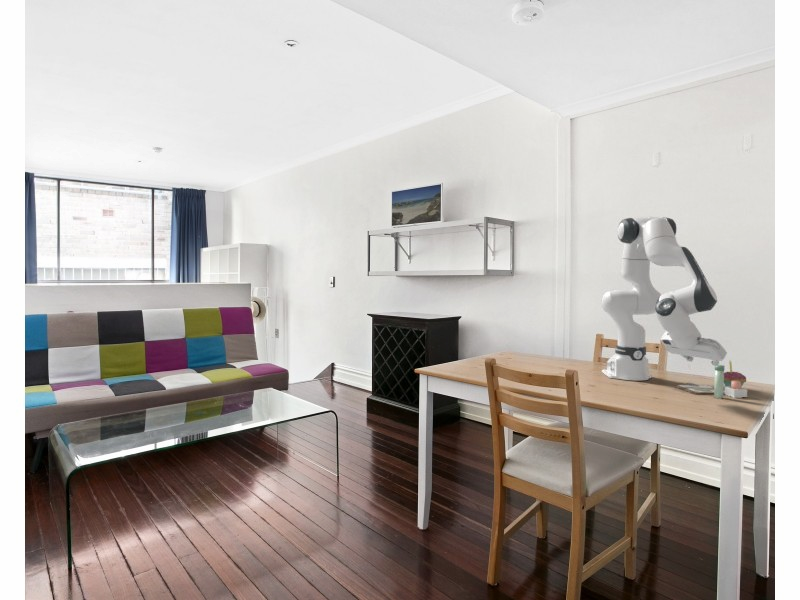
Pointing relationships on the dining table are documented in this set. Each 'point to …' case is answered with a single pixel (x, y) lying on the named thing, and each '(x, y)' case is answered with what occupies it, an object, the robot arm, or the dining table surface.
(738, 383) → the button
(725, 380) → the cupcake
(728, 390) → the button housing
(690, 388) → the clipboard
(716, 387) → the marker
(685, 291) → the robot arm
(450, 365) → the dining table surface
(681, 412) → the dining table surface
